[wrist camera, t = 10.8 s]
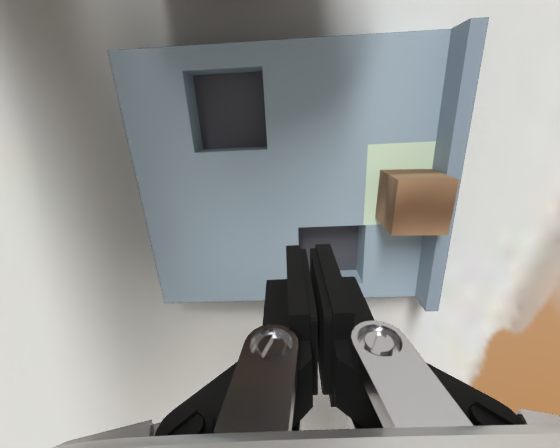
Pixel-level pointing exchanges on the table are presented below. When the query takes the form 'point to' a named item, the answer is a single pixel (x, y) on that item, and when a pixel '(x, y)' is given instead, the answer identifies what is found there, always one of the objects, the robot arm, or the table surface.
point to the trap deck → (294, 154)
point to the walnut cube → (415, 201)
